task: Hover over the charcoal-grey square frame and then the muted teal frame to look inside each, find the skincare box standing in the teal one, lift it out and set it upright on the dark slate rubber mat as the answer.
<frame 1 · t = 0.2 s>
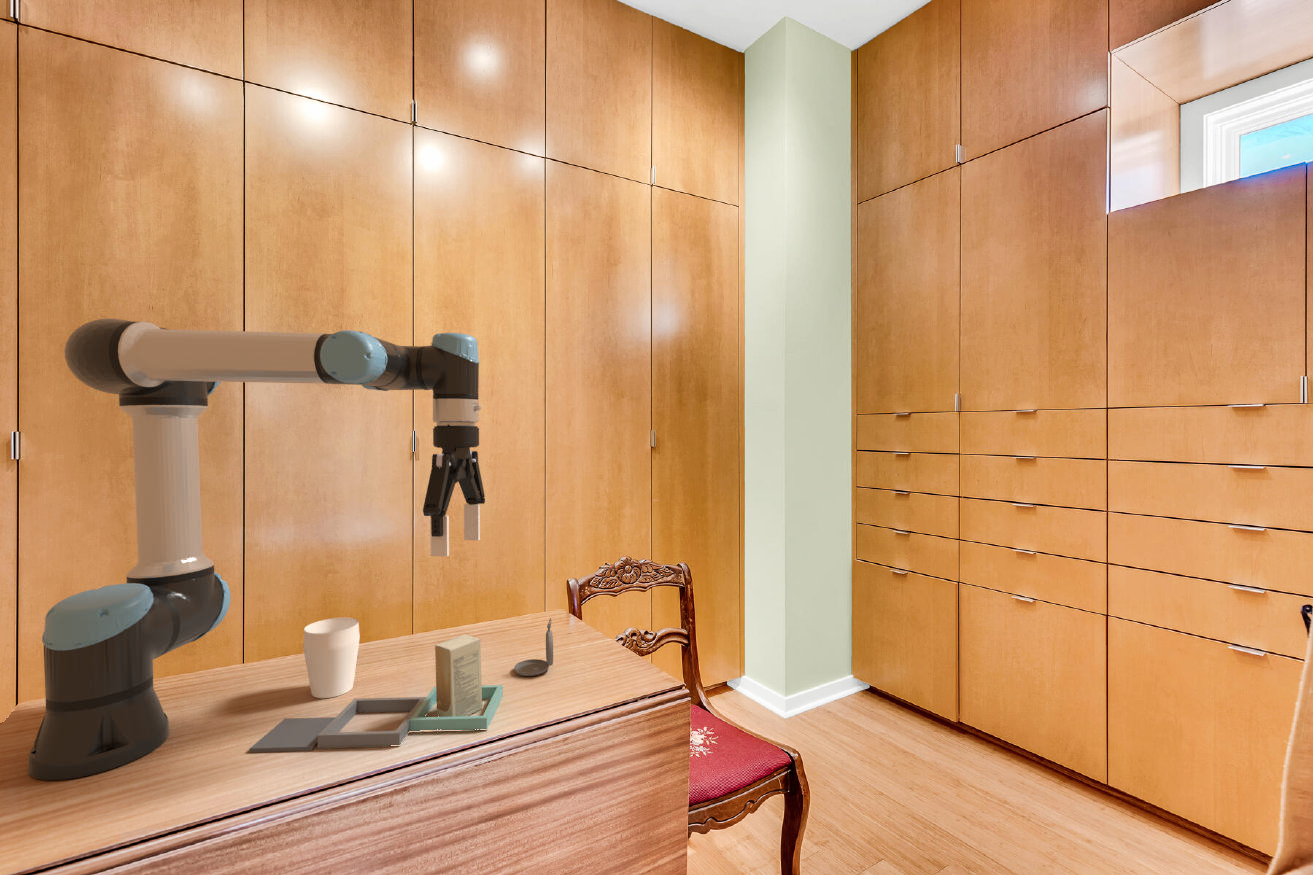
hand: (457, 547, 102), 27 cm above the table, tool pointing down, fingers open, 13 cm apart
grey frame: (375, 727, 95), on the table
cup: (332, 691, 108), on the table
teal frame: (459, 713, 99), on the table
skincare box: (459, 714, 99), resting in teal frame
pocket watch: (537, 671, 117), on the table
slate mat: (298, 735, 92), on the table
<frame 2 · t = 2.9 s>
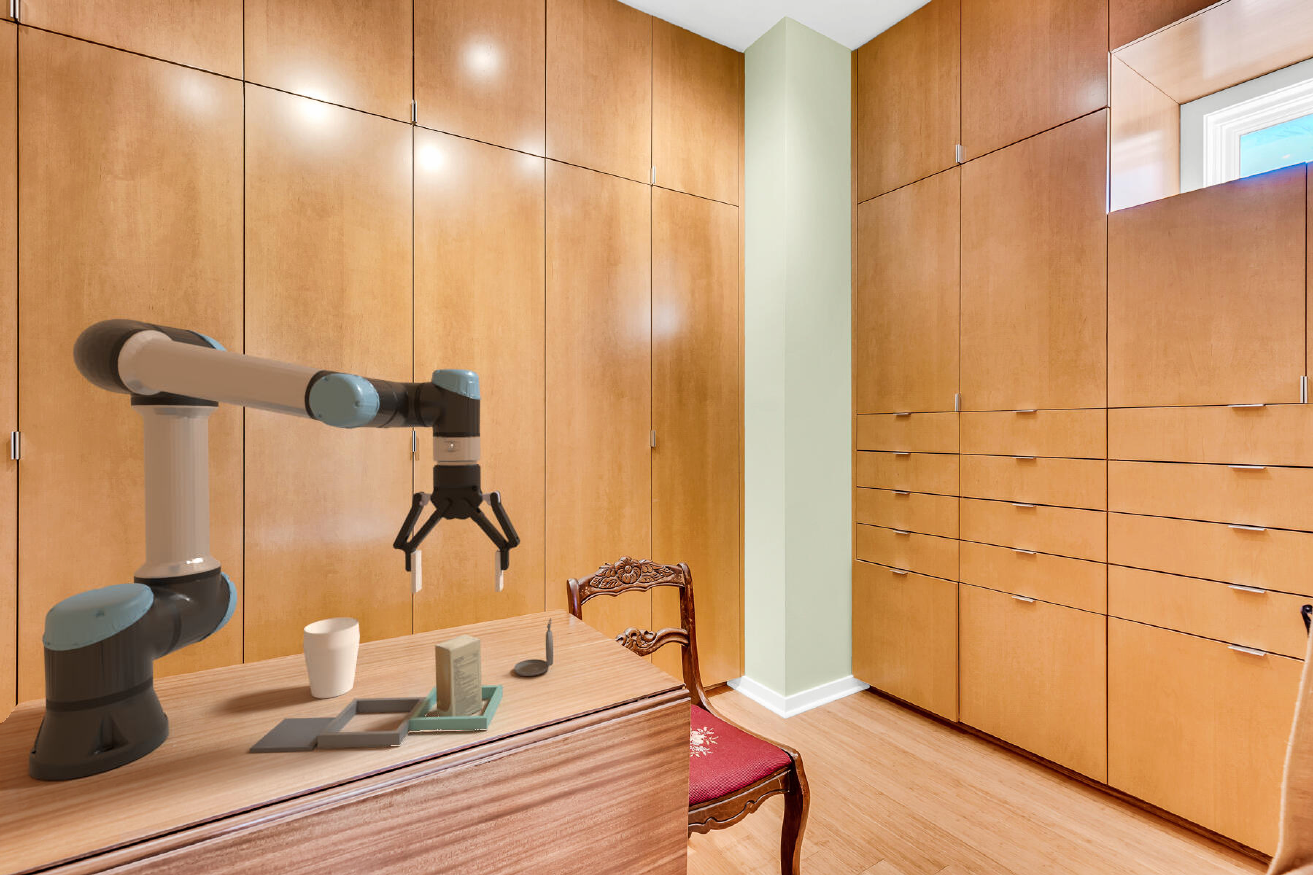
hand: (458, 590, 99), 21 cm above the table, tool pointing down, fingers open, 13 cm apart
nothing on the table moved.
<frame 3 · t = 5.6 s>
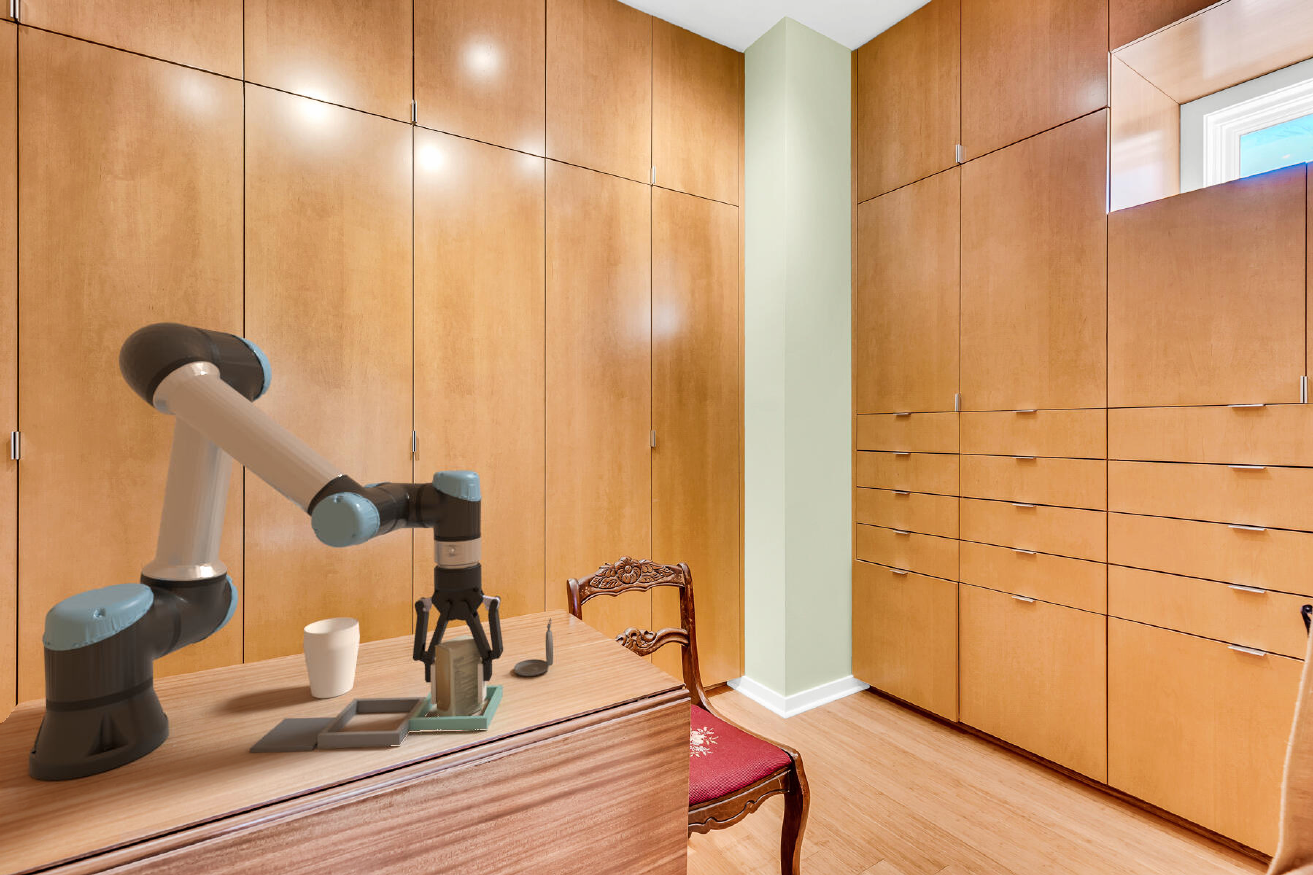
hand: (459, 699, 99), 2 cm above the table, tool pointing down, fingers closed on skincare box, 7 cm apart
skincare box: (459, 714, 99), resting in teal frame, touching gripper
everything else where it was.
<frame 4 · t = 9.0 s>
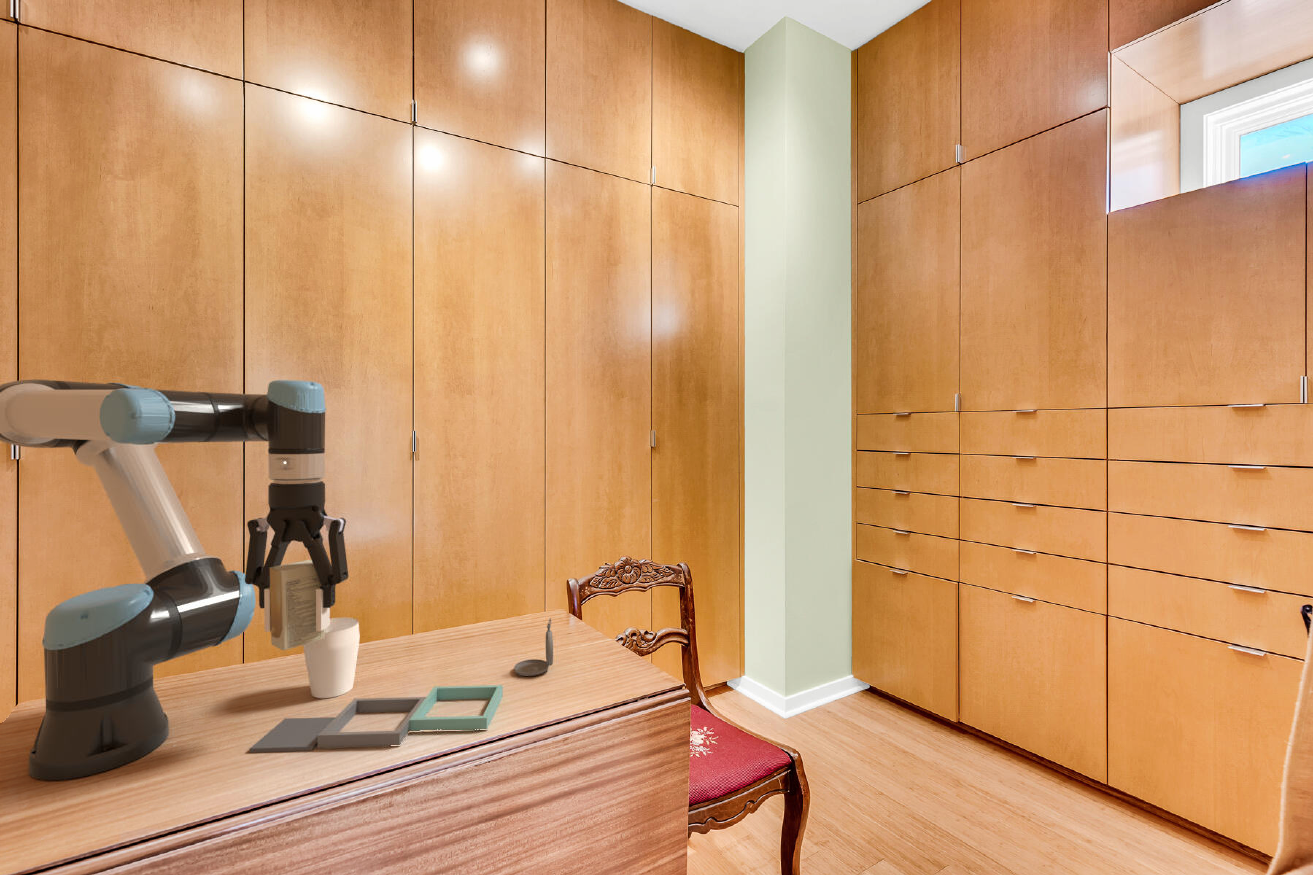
hand: (297, 628, 92), 17 cm above the table, tool pointing down, fingers closed on skincare box, 7 cm apart
skincare box: (297, 643, 92), point 14 cm above the table, touching gripper
everything else where it was.
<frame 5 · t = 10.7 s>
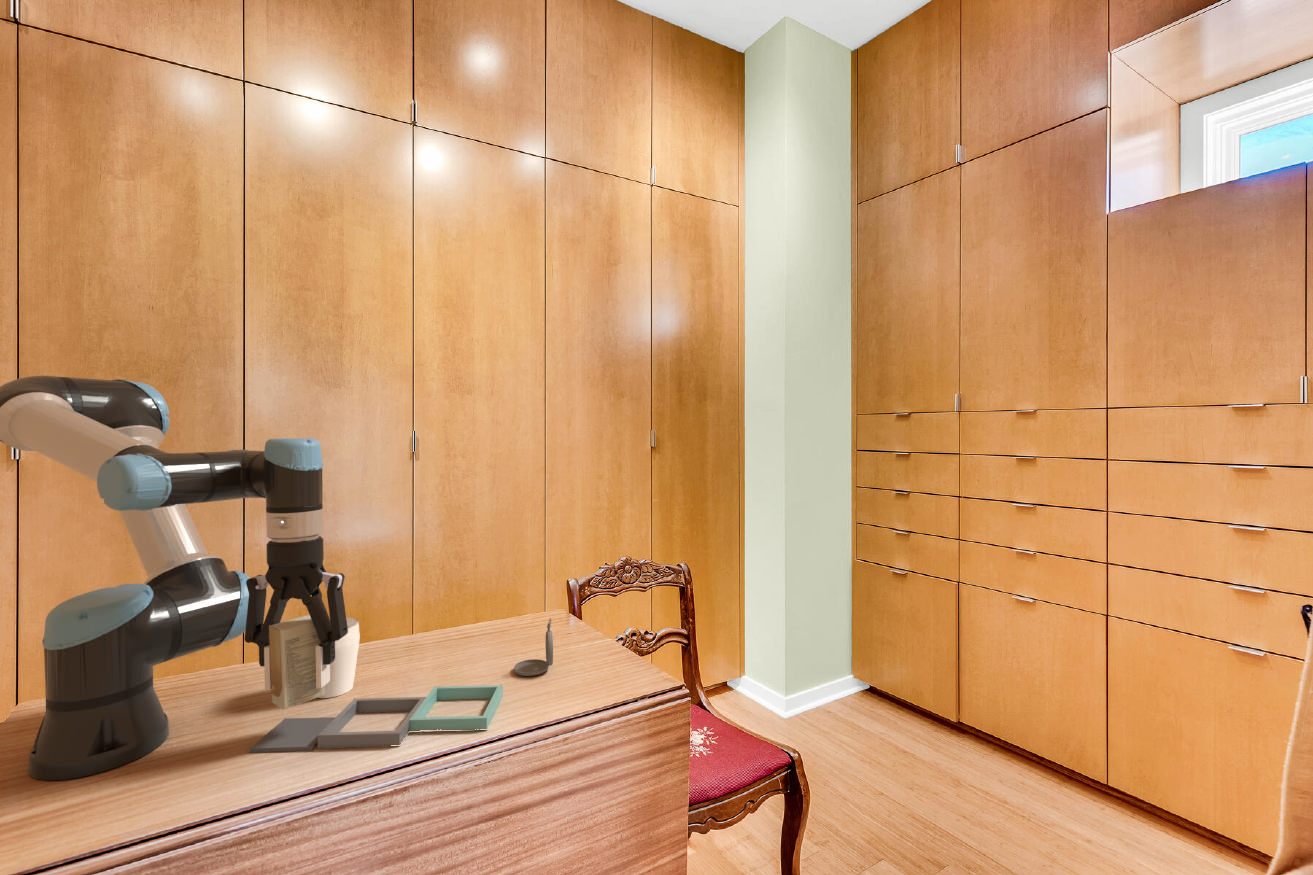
hand: (297, 684, 92), 8 cm above the table, tool pointing down, fingers closed on skincare box, 7 cm apart
skincare box: (297, 700, 92), point 6 cm above the table, touching gripper
everything else where it was.
when the fingers open (4 cm above the table, at t = 12.2 s): skincare box drops 1 cm, resting on slate mat.
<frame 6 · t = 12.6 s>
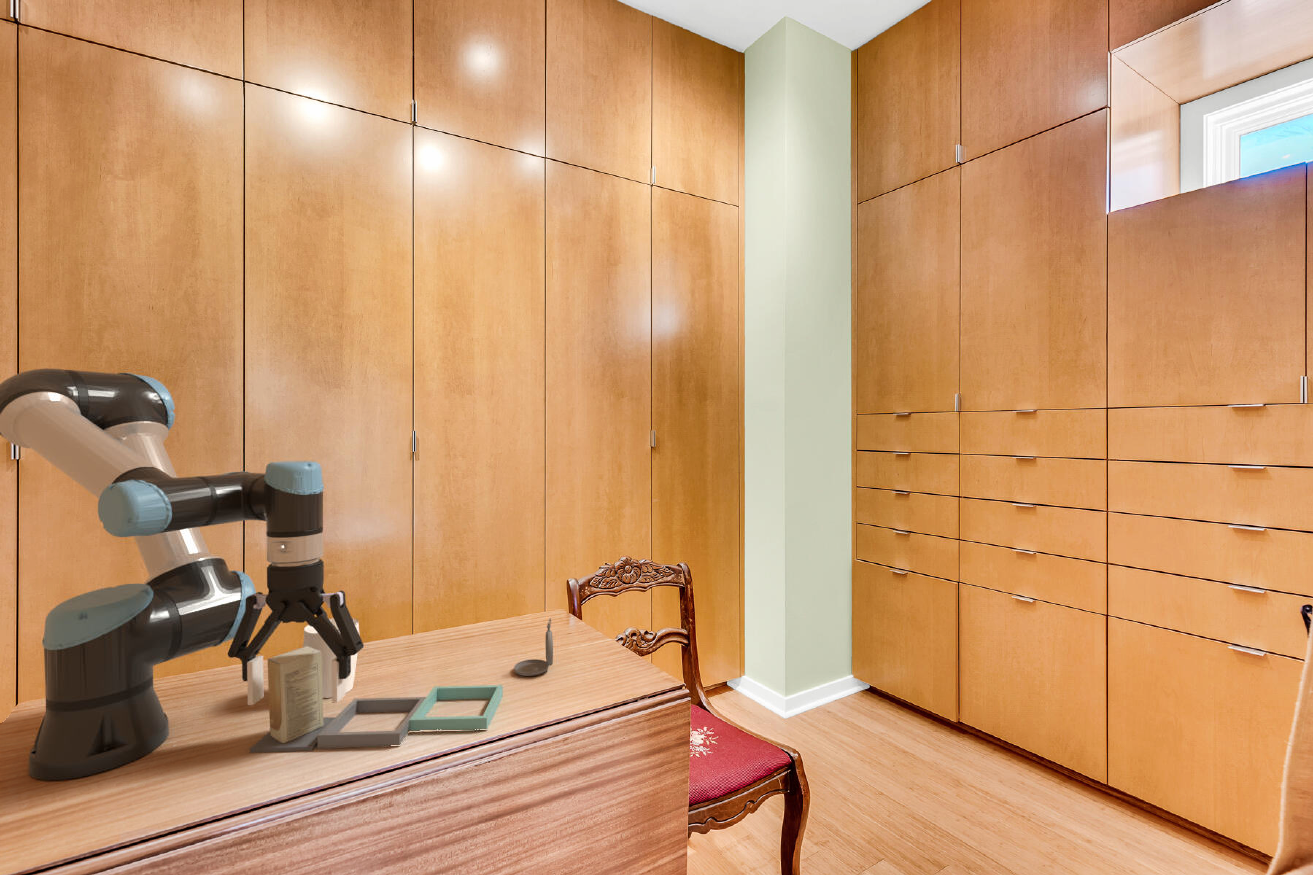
hand: (297, 699, 92), 6 cm above the table, tool pointing down, fingers open, 12 cm apart
skincare box: (296, 732, 92), resting on slate mat
everything else where it was.
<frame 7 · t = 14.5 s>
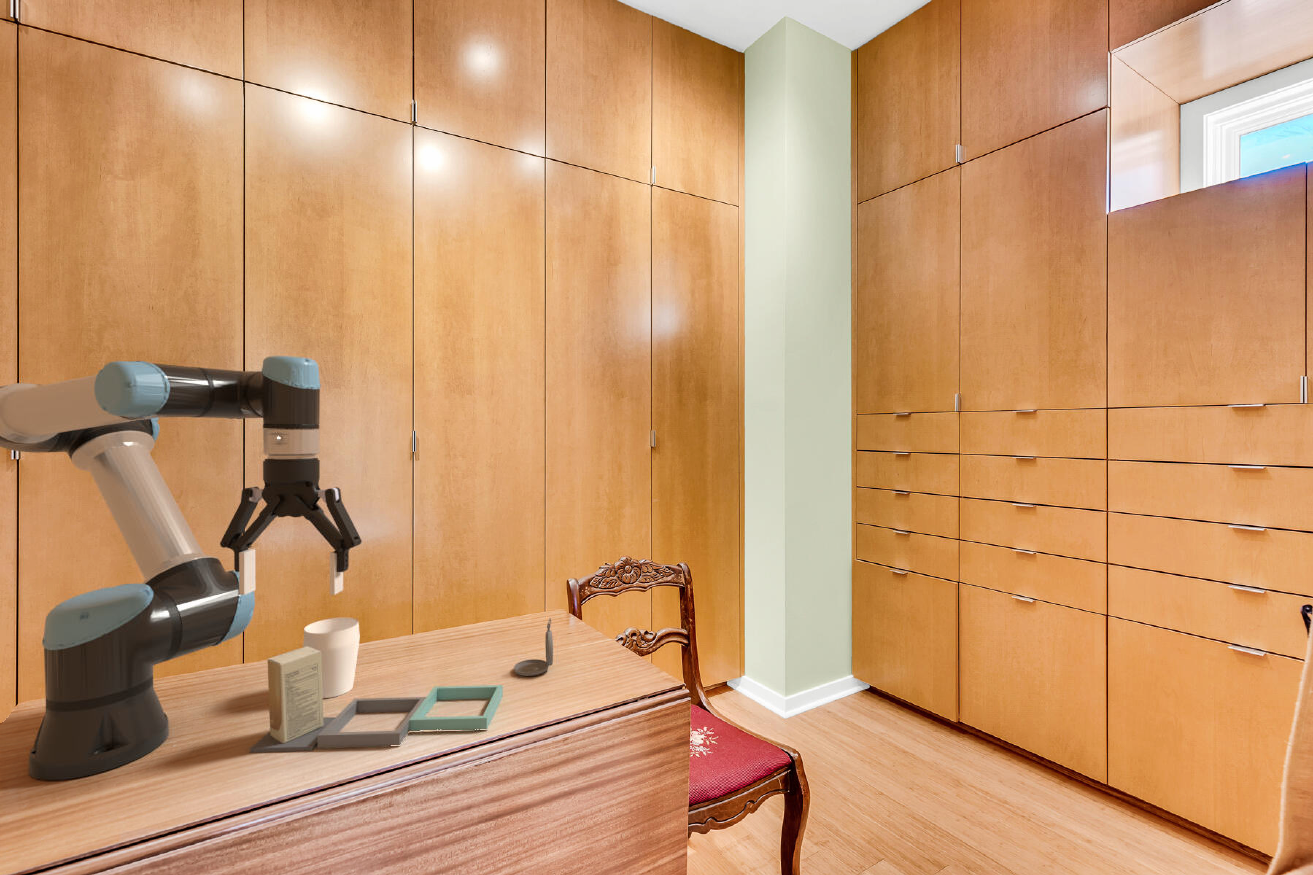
hand: (292, 592, 93), 22 cm above the table, tool pointing down, fingers open, 13 cm apart
nothing on the table moved.
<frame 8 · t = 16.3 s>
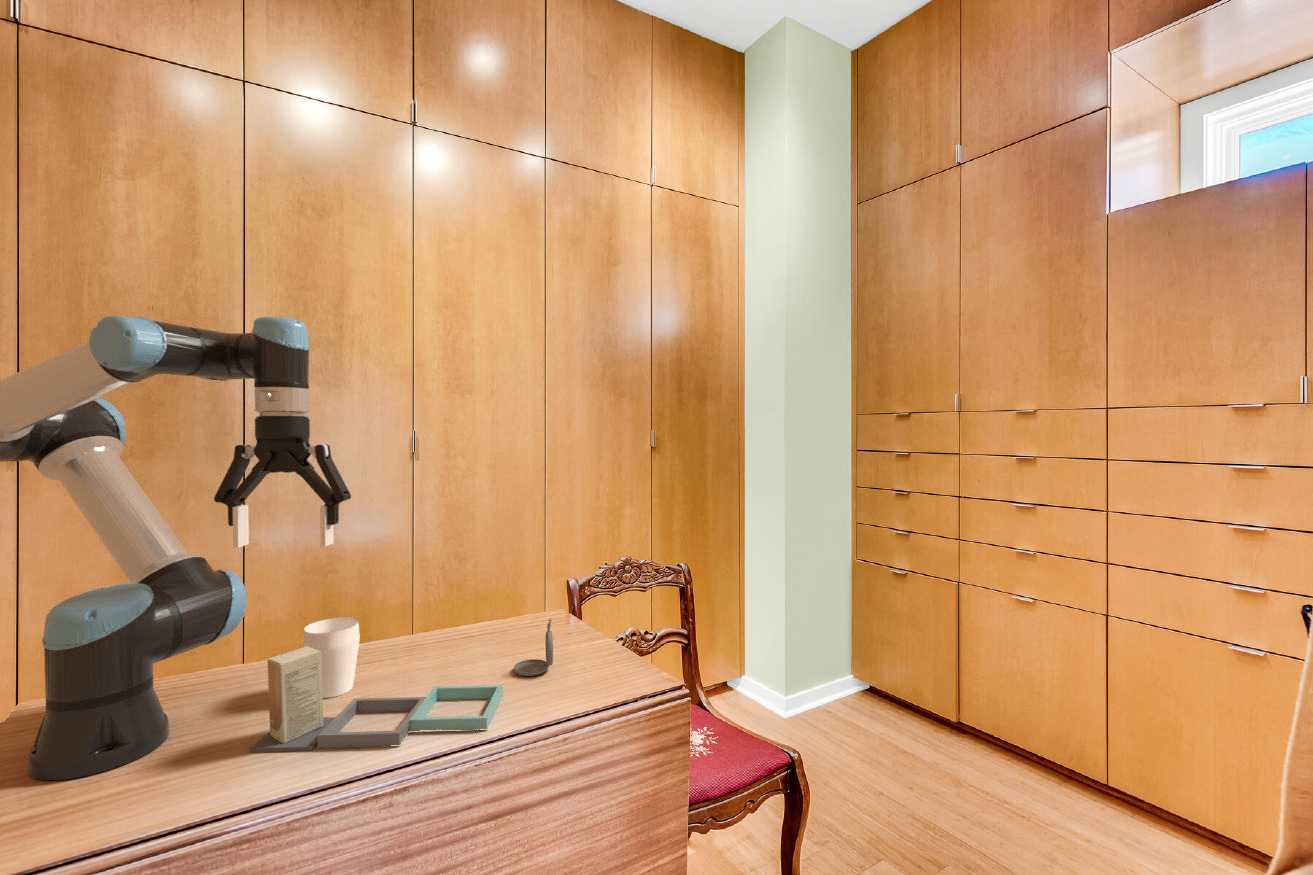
hand: (284, 545, 96), 29 cm above the table, tool pointing down, fingers open, 13 cm apart
nothing on the table moved.
at the end: skincare box inside the target area on the slate mat (0.3 cm from its centre), point 0.4 cm above the slate mat's base; skincare box tilted 0°; the gripper is holding nothing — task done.
